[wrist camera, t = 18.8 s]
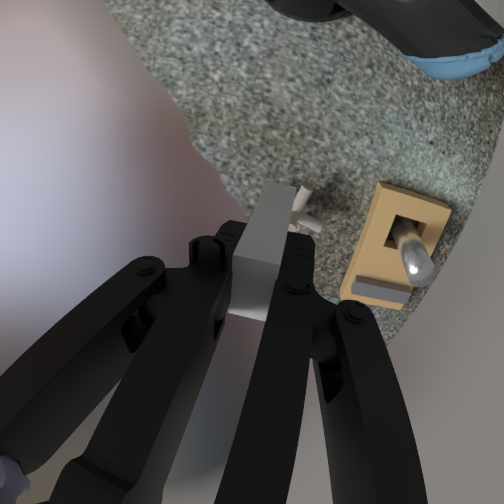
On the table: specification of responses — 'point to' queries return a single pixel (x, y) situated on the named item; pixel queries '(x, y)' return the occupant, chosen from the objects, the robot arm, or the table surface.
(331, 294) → the table surface
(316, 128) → the table surface
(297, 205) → the pipe connector
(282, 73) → the table surface
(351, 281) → the jig
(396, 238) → the grey metal cylinder
